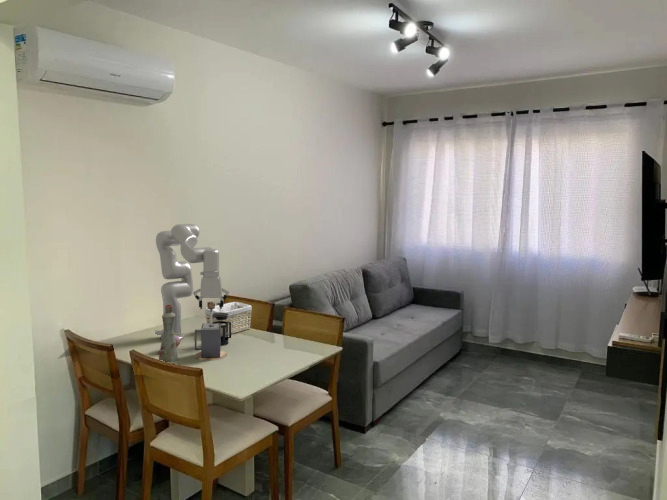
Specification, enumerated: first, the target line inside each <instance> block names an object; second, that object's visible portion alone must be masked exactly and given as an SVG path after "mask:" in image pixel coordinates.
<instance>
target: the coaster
mask: <svg viewBox="0 0 667 500" xmlns="http://www.w3.org/2000/svg"><path fill="white" fill-rule="evenodd" d="M227 356H228V352H227V351H225V350H221V353H220V358H201V351H198V352H197V353H195V354H194V358H195V359H197V360H200V361H206V362H207V361H218V360H222V359H224V358H226V357H227Z"/></svg>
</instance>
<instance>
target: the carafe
mask: <svg viewBox="0 0 667 500" xmlns="http://www.w3.org/2000/svg"><path fill="white" fill-rule="evenodd" d="M197 333H200V346H201V347H200V346H199V347H197V344H198V343H197V341H198V340H197V339H198V337H197ZM221 347H222V346H221V323H213V324H212V327H210V324H207V323H202V325H201V327H200V329H194V351H200V352H201V358H220V353H221V351H222V348H221Z"/></svg>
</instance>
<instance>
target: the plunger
mask: <svg viewBox="0 0 667 500" xmlns="http://www.w3.org/2000/svg"><path fill="white" fill-rule="evenodd" d="M206 303H207V307H206V308H207V309H210V327H212V309H215V306H216V301H207V302H206Z"/></svg>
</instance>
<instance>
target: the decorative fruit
mask: <svg viewBox="0 0 667 500" xmlns="http://www.w3.org/2000/svg"><path fill="white" fill-rule="evenodd" d="M178 335H179V334H178V333H174V336H175V341H176V348H177V349H178V347H179V346H180V343H181V339H180V337H179V336H178Z"/></svg>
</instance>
